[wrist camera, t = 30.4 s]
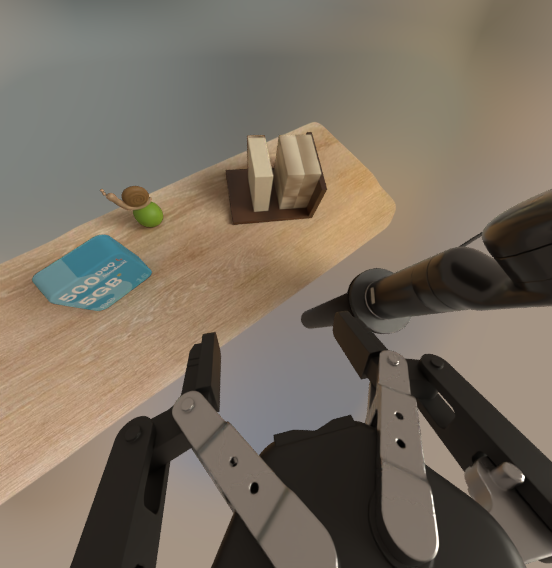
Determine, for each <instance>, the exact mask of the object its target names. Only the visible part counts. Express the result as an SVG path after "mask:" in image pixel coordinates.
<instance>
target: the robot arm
mask: <svg viewBox="0 0 552 568" xmlns="http://www.w3.org/2000/svg"><path fill="white" fill-rule="evenodd" d="M480 236H482V240H483V242H484V245H485V246H486V248H487V250H488V251H489V253H490V254H491V255H492V257H494V259H493V258H491V257H489V256H488V255H486V254H484V253H483V252H481V251H478V250H476V249H473V248H469V247H465V246H466V245H468V244H470V243H471V242H472V241H474V240H476V239H477V238H479V237H480ZM364 301H365V305H366V307H367V309H368V310H369V312H370V313H371V314H372V315H374V316H375V317H377V318H379V319H382V320H389V319H394V318H403V317H411V316H420V315H427V314H437V313H445V312H453V311H461V310H469V309H471V310H481V311H482V310H496V309H510V308H527V307H545V306H552V189H550V190H548V191H546V192H543V193H541V194H539V195H536V196H534V197H532V198H530V199H528V200H526V201H524V202H521V203H519V204H517V205H516V206H514V207H512V208H510V209H508V210H507V211H505V212H503V213H502V214H500V215H499V216H497V217H496V218H494V219H493V220H492V221H491V222H490V223H489V224H488V225H487V226H486V227H485V229H484V230H483V232H481V233H480V234H478V235H476V236H475V237H473V238H472V239H470V240H469V241H467V242H465V243H464V244H462V245H461V246H459V247H456V248H452V249H449V250H447V251H444V252H442V253H439V254H437V255H435V256H433V257H430V258H428V259H426V260H423V261H421V262H419V263H417V264H414V265H412V266H409V267H407V268H405V269H403V270H400V271H398V272H396V273H393V274H391V275H389V276H386V277H384V278H382V279H379V280H376V281H374V282H372V283H370V284H369V285H368V286H367V288H366V289H365V292H364ZM333 334H334V337H335V339H336V340H337V342H338V344H339V345H340V347H341V348H342V350H343V352H344V353H345V355H346V356H347V358H348V359H349V361H350V363H351V364H352V366H353V367H354V369H355V371H356V372H357V373H358V375H359V377H360V378H361V379H365V378H368V379H369V380H370V383H369V393H368V394H369V395H368V407H367V416H366V420H365V423H362V422H358V421H354V420H353V418H352V416H351V415H348V416H344V417H340V418H336V419H333V420H331V421H330V422H328V423H327V424H325V425H324V426H322V427H321V428H319V429H318V430H315V431H310V430H309V431H308V430H291V431H287V432H283V433H279V434H276V435H274V442H272V443H271V444H270V445H268V446H267V447H266V448H265V449H264V450H263V451H262V452H261V454H260V455H258V454H257V453H256V452H255V451H254V449H252V447H251V446H250V445H249V444H248V443H247V442H246V440H245V439H244V438H243V437H242V436H241V435H240V434H239V432H238V431H237V430H236V429H235V428H234V427H233V426H232V425H231V424H230V423H229V422H226V421H224V420H223V419H222V418H221V416H220V415H219V414H218V413H217V412H219V407H220V372H221V353H220V347H219V343H218V339H217V335H216V332H213V333H207V334H203V336H202V342H201V343H199V344H194V346H193V347H192V349H191V350H190V353H189V358H188V363H187V368H186V373H185V378H184V383H183V388H182V393H181V396H180V397H179V398H178V400H177V401H176V402H175V404H174V405H173V406H172V407H171V408H170V409H169V410H167V411H165V412H163V413H161V414H160V415H158V416H156V417H154V418H152V419H150V418H148V417H146V416H140V417H137V418H135V419H133V420H131V421H129V422H128V423H127V424H126V425H125V426H124V427H123V428H122V429H121V430H120V431H119V433H118V435H117V436H116V438H115V441H114V444H113V447H112V450H111V453H110V456H109V458H108V461H107V464H106V467H105V470H104V472H103V475H102V478H101V481H100V484H99V487H98V489H97V493H96V495H95V498H94V501H93V504H92V507H91V510H90V512H89V515H88V518H87V521H86V524H85V527H84V529H83V532H82V535H81V538H80V541H79V544H78V547H77V549H76V553H75V555H74V558H73V561H72V563H71V566H70V568H156V561H157V553H158V547H159V540H160V532H161V525H162V518H163V511H164V503H165V495H166V489H167V482H168V475H169V467H170V461H171V460H173V459H174V458H176V457H178V456H179V455H181V454H182V453H184V452H185V451H187V450H189V449H190V448H192V450H193V452H194V453H195V455H196V456H197V458H198V459H199V461H200V462H201V464H202V465H203V467H204V468H205V470H206V471H207V473H208V474H209V476H210V477H211V479H212V481H213V482H214V484H215V486H216V487H217V489H218V490H219V492H220V493H221V495H222V496H223V498H224V499H225V501H226V502H227V504H228V505H229V507H230V509H231V510H232V512H233V516H232V518H231V521H230V523H229V526H228V528H227V531H226V533H225V535H224V538H223V540H222V542H221V545H220V547H219V550H218V552H217V555H216V557H215V560H214V562H213V564H212V567H211V568H526V566H525V564H527V563H531V562H534V561H537V560H538V561H541V562H543V563H552V462H551V461H550V460H549V459H548V458H547V457H546V456H545V455H544V454H543V453H542V452H541V451H540V450H539V449H538V448H537V447H535V445H533V443H531V442H530V441H529V440H528V439H527V438H526V437H525V436H524V435H523V434H522V433H521V432H520V431H519V430H518V429H517V428H516V427H515V426H514V425H513V424H511V423H510V422H509V421H508V420H507V419H506V418H505V417H504V416H503V415H502V414H501V413H500V412H499V411H498V410H497V409H496V408H495V407H494V406H493V405H492V404H491V403H490V402H488V401H487V400H486V399H485V398H484V397H483V396H482V395H481V394H480V393H479V392H478V391H477V390H476V389H475V388H474V387H473V386H472V385H471V384H470V383H469V382H467V381H466V380H465V379H464V378H463V377H462V376H461V375H460V374H459V373H458V372H457V371H456V370H455V369H454V368H453V367H452V366H451V365H450V364H449V363H448V362H446V361H445V360H444V359H442V358H441V357H438V356H436V355H433V354H424V355H423V356H422V358H421V359H420V360H415V359H405V358H404V357H403V356H401V355H400V354H398V353H396V352H394V351H390V350H388V349H387V348H386V347H385V346H384V345H383V344H382V343H381V341H380V340H379V339H378V338H377V337H376V336H375V334H374V333H372V331H371V330H370V329H369V328H368V326H367V325H366V324H365V323H364V322H363V321H362V320H360V319H359V318H357V317H353V316H352V315H351V314H350V313H349V312H348V311H342V312H336V313H335V318H334V324H333ZM438 392H439V393H440V394H441V395H442V396H443V397H444V399H446V401H447V402H448V403H449V404H450V405H451V407H452V408H453V410H454V412H455V413H454V412H453V411H452V409H451V408H450V407H449V406H448V405H447V404H446V403H445V401H444V400H443V399H442V398H441V396H440V395H439V394H438ZM417 408H418V409H419V410H420V412H421V413H422V414H423V416H424V417H425V419H426V420H427V421H428V423H429V424H430V425H431V427H432V428H433V429H434V431H435V432H436V434H437V435H438V436H439V438H440V439H441V440H442V442H443V443H444V445H445V446H446V447H447V449H448V450H449V451H450V453H451V454H452V455H453V457H454V458H455V459H456V461H457V462H458V464H459V465H460V466H461V468H462V469H463V471H464V472H465V473H464V476H465V480H466V483H467V486H468V492H469V494H470V496H471V497H472V498H471V497H469V496H468V495H467V494H466V493H464V492H463V491H461V490H460V489H459V488H457V487H456V486H455V485H453V484H452V483H450V482H449V481H448V480H446V479H445V478H443V477H442V476H441V475H439V474H438V473H436V472H435V471H434V470H432V469H431V468H430V467H428V466H427V465H425V463H424V457H423V448H422V441H421V432H420V425H419V417H418V409H417Z"/></svg>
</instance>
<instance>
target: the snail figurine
mask: <svg viewBox="0 0 552 568" xmlns="http://www.w3.org/2000/svg"><path fill="white" fill-rule="evenodd" d="M100 191H101V192H102V194H103V195H106V193H105V192H104V190H103V189H100ZM106 198H107V199H109V200H110V201H112V202H114V203H115V204H116V205H118V206H120V207H122V208H124V209H127V210H133V215H134V217H135V219H136V220H137V221H138V222H139V223H140V224H141V225H143V226H146V227H155V226H157V225H159V224H160V223H161V221H162V219H163V213H162V210H161V209H160V207H159V206H158V205H157V204H155V203H154V202H151V200H152V198H151V197H149V194H148V192H147V191H146V190H145V189H144V188H142V187H139V186H131V187H128V188H126V189H125V190H124V191H123V193H122V200H123V201H122V200H120V199H118V198H117V197H116V195H115V194H112V193H108V194H107V195H106Z"/></svg>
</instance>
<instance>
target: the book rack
mask: <svg viewBox="0 0 552 568" xmlns="http://www.w3.org/2000/svg"><path fill="white" fill-rule="evenodd" d="M271 169H272V173H273V181H272V187H271V194H270V201H269V208H268V211H257V212H254V209H253V203H252V198H251V192H250V186H249V180H248V169H238V170H226V176H227V183H228V191H229V198H230V205H231V212H232V220H233V225H236V224H248V223H259V222H271V221H282V220H294V219H305V218H312V217H313V215H314V213H315V211H316V209H317V207H318V205H319V204H320V202H321V200H322V198H323V196H324V194H325V192H326V190H327V187H326V183H325V180H324V176H323V172H322V169H321V165H320V161H319V157H318V154H317V150H316V146H315V143H314V139H313V135H312V132H307V133H306V135H279V139H278V146H277V153H276V159H275V166H274V168H271Z"/></svg>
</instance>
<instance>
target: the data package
mask: <svg viewBox="0 0 552 568" xmlns="http://www.w3.org/2000/svg"><path fill="white" fill-rule="evenodd" d="M151 273H152V271H151V270H150V269H149V268H148V267H147V265H146V264H145V263H144V262H143V261H142V260H141V259H140V258H139V257H138V256H137V255H135V254H134V253H132V252H131V251H130V250H128V249H127V248H125V247H124V246H123V245H121V244H120V243H118V242H117V241H116V240H114V239H113V238H111V237H110V236H108V235H97V236H95V237H93V238H91V239H90V240H88V241H87V242H85V243H83V244H82V245H80V246H79V247H77V248H76V249H74V250H73V251H71V252H69V253H68V254H66V255H65V256H63V257H62V258H60V259H58V260H57V261H55V262H54V263H52V264H51V265H49V266H47V267H46V268H44V269H43V270H41V271H40V272H38V273H37V274H35V275H34V276H33V278H32V281H33V283H34V284H35V285H36V286H37V288H38V289H39V290H40V291H41V292H42V294H43V295H44V296H45V297H46V298H47V299H48V301H49V302H50V303H53V304H58V305H64V306H70V307H76V308H83V309H89V310H95V311H101V310H105V309H107V308H109V307H110V306H111V305H113V304H114V303H115V302H117V301H118V300H119V299H121V298H122V297H123V296H125V295H126V294H127V293H129V292H130V291H131V290H133V289H134V288H135V287H137V286H138V285H139V284H141V283H142V282H143V281H145V280H146V279H147V278H148V277H150V275H151Z"/></svg>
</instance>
